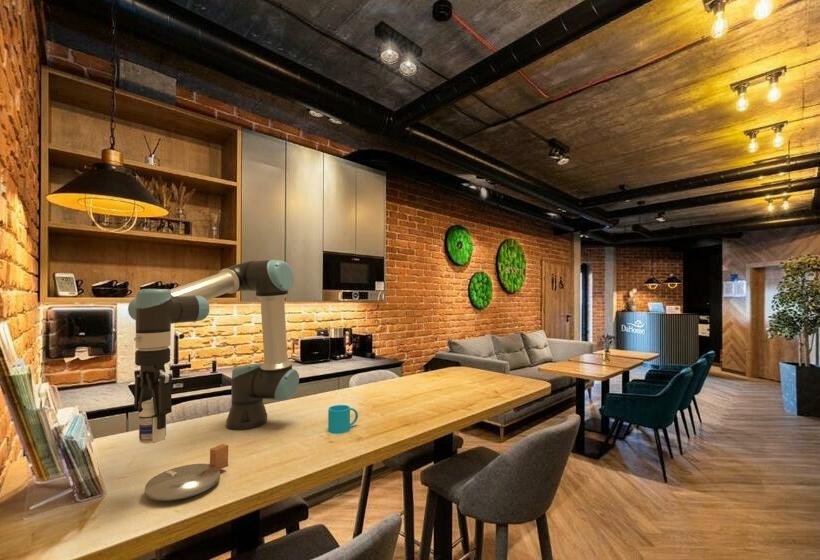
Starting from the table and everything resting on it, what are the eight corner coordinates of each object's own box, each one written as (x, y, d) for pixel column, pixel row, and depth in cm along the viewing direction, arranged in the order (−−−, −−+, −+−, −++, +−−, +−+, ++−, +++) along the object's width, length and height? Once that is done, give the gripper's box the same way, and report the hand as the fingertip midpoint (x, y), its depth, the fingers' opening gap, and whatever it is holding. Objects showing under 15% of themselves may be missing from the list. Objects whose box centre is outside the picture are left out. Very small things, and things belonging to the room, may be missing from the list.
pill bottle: (162, 433, 100) (162, 396, 100) (169, 439, 96) (169, 400, 97) (136, 440, 96) (136, 401, 96) (142, 446, 92) (143, 405, 92)
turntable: (130, 490, 95) (131, 467, 95) (206, 459, 113) (207, 439, 113) (169, 508, 87) (170, 482, 87) (244, 471, 105) (245, 450, 105)
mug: (333, 435, 136) (333, 412, 136) (324, 428, 142) (324, 407, 143) (362, 428, 143) (362, 406, 143) (353, 422, 149) (353, 402, 150)
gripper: (118, 348, 98) (117, 437, 97) (157, 353, 89) (156, 451, 88) (149, 344, 104) (148, 427, 104) (188, 348, 95) (188, 440, 95)
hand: (152, 438), depth 96 cm, fingers closed on pill bottle, 6 cm apart
